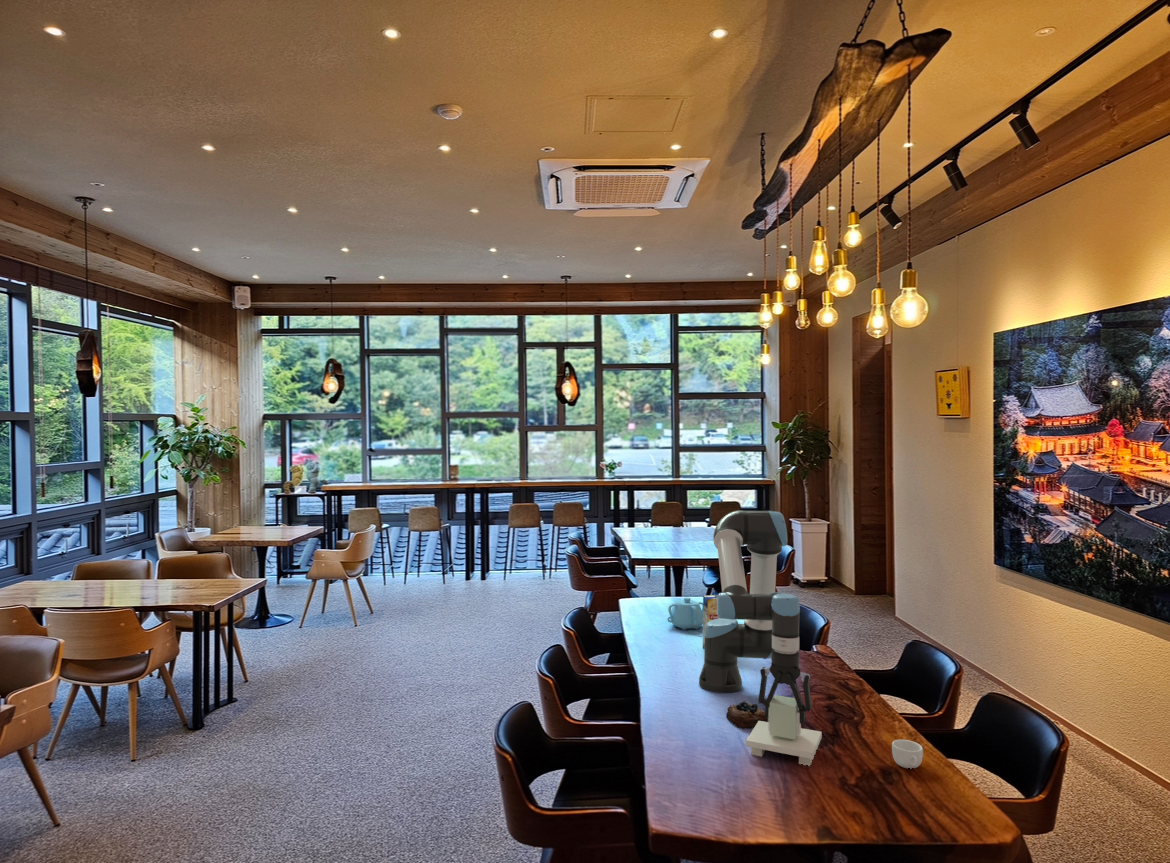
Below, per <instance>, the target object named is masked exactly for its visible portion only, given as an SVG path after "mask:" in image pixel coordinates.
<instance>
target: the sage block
mask: <svg viewBox="0 0 1170 863" xmlns="http://www.w3.org/2000/svg"><path fill="white" fill-rule="evenodd" d="M798 709H799V708H798V706H797V703H796V700H795V697H790V696H783V695H778V694H777V695H776V694H774V696H773V698H772V700H771V702H770V735H773V736H778V737H783V738H789V739H794V740H795V739H796V737H797V736H796V728H797V711H798Z"/></svg>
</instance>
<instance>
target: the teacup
mask: <svg viewBox="0 0 1170 863" xmlns="http://www.w3.org/2000/svg"><path fill="white" fill-rule="evenodd" d="M891 754H892V758H893V759H894V761H895V763H896V764H897V765H898V766H899V767H902V768H905V769H908V768H910V769H909V770H913V769H912V768H914V769H916V768H918V767H919V766H920V765H921V764H922V761H923V754H924V749H923V746H922V745H921V744H919V742H915V741H912V740H908V739H895V740H893V741H892V742H891Z"/></svg>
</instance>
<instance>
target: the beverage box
mask: <svg viewBox="0 0 1170 863" xmlns="http://www.w3.org/2000/svg"><path fill="white" fill-rule="evenodd" d="M717 595H718V594H716V595H715V594H714V595H702V603H703V606H702V607H703V625H702V649H703V650H704V647H705V637H704V634H705V625H706V623H707V622H709V621H711V620H714V619H719V618H720V617H718V615H717Z"/></svg>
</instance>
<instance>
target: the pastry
mask: <svg viewBox="0 0 1170 863" xmlns="http://www.w3.org/2000/svg"><path fill="white" fill-rule="evenodd" d="M726 710H727V712H726V714H725V715H726V719H727V720H728V721H729V722H731V723H732V724H733V725H734V724H735V726H736V728H738V729H741V728H742V729H743V728H747V729H748V728H749V729H754V727H755V726H756V724H757V723H758V721H764V722H769V718H767V717H765V710H762V709H760V708H759V706H758V704H757V703H749V702H747V701H746V700H744V701H741V702H739V703H738V704H730V705H729V706H728V707H727V709H726ZM742 729H741V730H742ZM743 730H744V729H743Z"/></svg>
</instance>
